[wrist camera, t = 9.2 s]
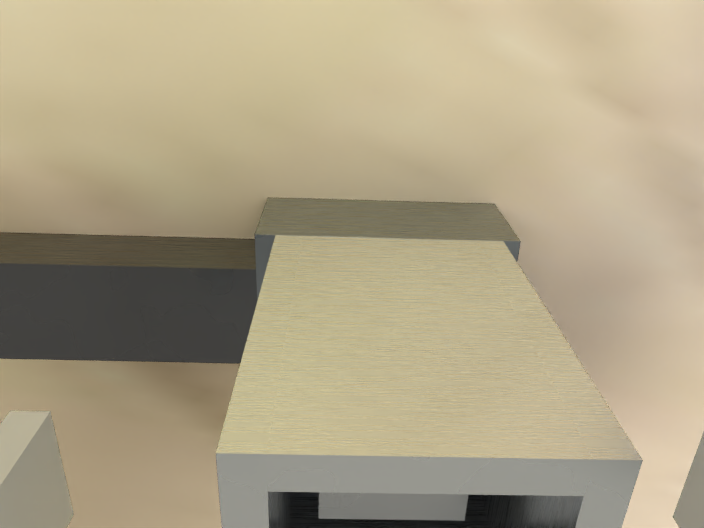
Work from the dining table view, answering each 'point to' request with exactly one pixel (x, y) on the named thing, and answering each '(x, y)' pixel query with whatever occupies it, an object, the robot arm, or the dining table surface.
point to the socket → (415, 393)
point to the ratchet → (204, 299)
